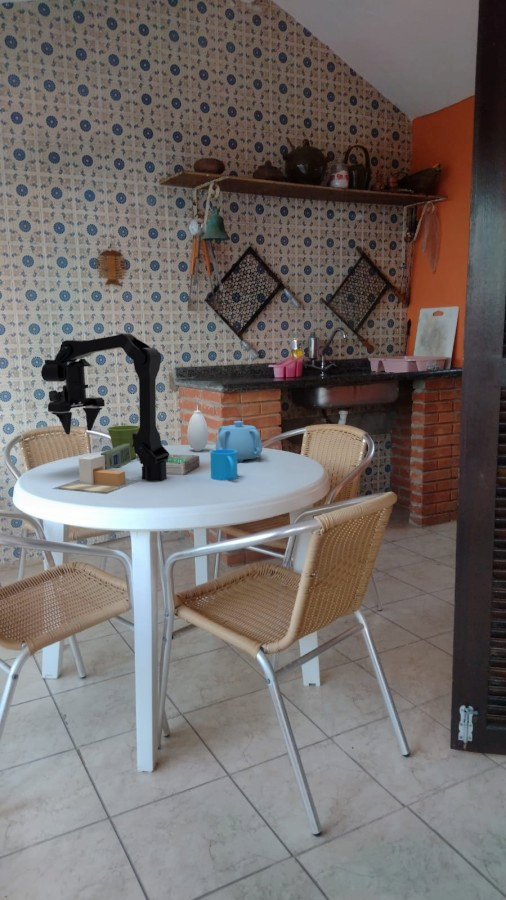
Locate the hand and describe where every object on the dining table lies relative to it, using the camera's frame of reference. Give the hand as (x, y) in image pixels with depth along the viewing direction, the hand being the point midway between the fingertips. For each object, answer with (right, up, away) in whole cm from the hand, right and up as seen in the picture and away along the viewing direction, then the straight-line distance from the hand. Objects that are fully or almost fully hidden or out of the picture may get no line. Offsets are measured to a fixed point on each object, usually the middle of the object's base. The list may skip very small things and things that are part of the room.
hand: (78, 432), depth 200 cm
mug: (+46, -14, -2) cm, 48 cm away
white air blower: (+33, -6, +46) cm, 57 cm away
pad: (+8, -16, -18) cm, 26 cm away
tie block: (+7, -15, -10) cm, 19 cm away
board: (+9, -16, -13) cm, 23 cm away
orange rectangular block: (+11, -15, -11) cm, 22 cm away
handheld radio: (+7, -12, +16) cm, 21 cm away
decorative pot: (+49, -9, +30) cm, 58 cm away
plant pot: (+8, -9, +32) cm, 34 cm away
